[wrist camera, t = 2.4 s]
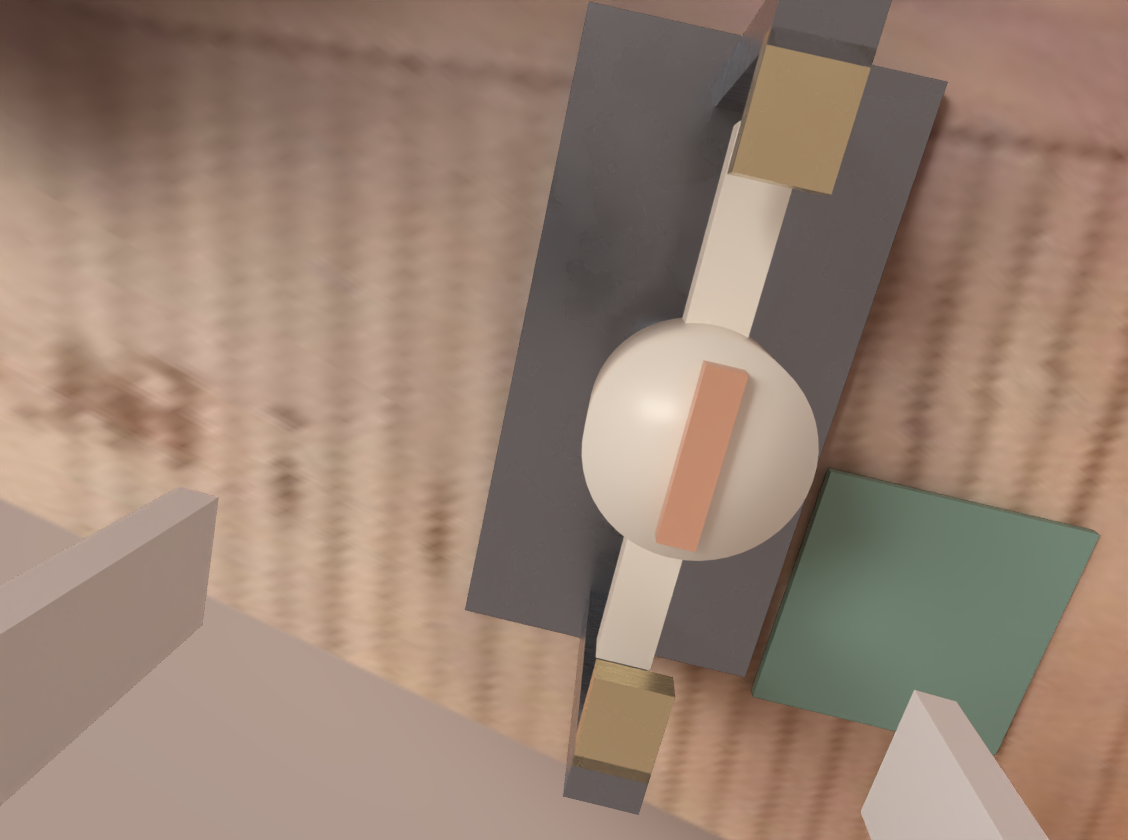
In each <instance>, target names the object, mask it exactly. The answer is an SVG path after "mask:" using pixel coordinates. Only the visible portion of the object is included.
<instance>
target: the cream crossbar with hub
mask: <svg viewBox="0 0 1128 840" xmlns="http://www.w3.org/2000/svg"><path fill="white" fill-rule="evenodd" d="M740 124H741V121H739V122H738V123H737V124H735V125H734V126H733V130H732V134H731V138H730V141H729V145H728V149H727V153H726V156H725V160H724V164H723V168H722V171H721V175H720V179H719V183H718V186H717V190H716V194H715V198H714V201H713V205H712V209H711V213H710V216H709V220H708V224H707V228H706V231H705V235H704V239H703V243H702V246H701V250H700V254H699V258H698V261H697V265H696V269H695V273H694V276H693V280H692V284H691V288H690V291H689V295H688V299H687V302H686V306H685V310H684V314H683V317H682V318H676V319H670V320H666V321H661V322H658V323H656V324H653V325H650V326H648V327H646V328H644V329H642V330H640V331H638V332H636V333H635V334H633V335H632V336H630V337H629V338H628V339H626V340H625V341H624V342H623V343H622V344H620V345H619V346H618V347H617V348H616V349H615V350H614V351H613V353H612V354H611V355H610V356H609V357H608V359H607V360H606V362H605V363H604V365H603V366H602V368H601V369H600V371H599V374H598V376H597V378H596V380H595V383H594V386H593V389H592V392H591V397H590V402H589V407H588V412H587V417H586V422H585V427H584V433H583V439H582V464H583V472H584V476H585V480H586V484H587V486H588V489H589V491H590V494H591V496H592V498H593V500H594V502H595V504H596V505H597V507H598V509H599V511H600V512H601V513H602V514H603V516H604V517H605V518H606V520H607V521H608V522H609V523H610V524H611V525H612V526H613V527H614V528H615V529H616V530H617V531H618V532H619V533H620V534H622V535H623V536H624V539H623V542H622V546H621V550H620V554H619V557H618V561H617V565H616V569H615V572H614V576H613V580H612V583H611V587H610V591H609V595H608V598H607V602H606V606H605V610H604V613H603V617H602V621H601V625H600V628H599V632H598V636H597V644H596V658H600V659H604V660H608V661H612V662H617V663H621V664H625V665H629V666H633V667H637V668H641V669H646V670H650V669H651V665H652V662H653V658H654V655H655V652H656V648H657V645H658V641H659V638H660V635H661V631H662V628H663V625H664V621H665V618H666V614H667V611H668V608H669V604H670V601H671V597H672V594H673V591H674V587H675V584H676V581H677V577H678V574H679V570H680V567H681V564H682V560H690V561H705V560H716V559H721V558H727V557H730V556H733V555H737V554H740V553H743V552H745V551H747V550H750V549H752V548H754V547H756V546H758V545H759V544H761V543H763V542H765V541H766V540H768V539H769V538H771V537H772V536H773V535H774V534H776V533H777V532H778V531H780V530H781V529H782V528H783V527H784V526H785V525H786V524H787V523H788V522H789V521H790V520H791V519H792V517H793V516H794V515H795V513H796V512H797V511H798V510H799V508H800V507H801V505H802V503H803V502H804V500H805V498H806V496H807V495H808V492H809V490H810V487H811V485H812V483H813V480H814V476H815V472H816V468H817V461H818V453H819V447H818V433H817V427H816V422H815V419H814V415H813V412H812V409H811V407H810V405H809V403H808V401H807V399H806V397H805V395H804V393H803V392H802V390H801V389H800V387H799V386H798V384H797V383H796V382H795V380H794V379H793V378H792V377H791V376H790V375H789V374H788V373H787V372H786V371H785V370H784V369H783V368H782V367H781V366H780V365H779V364H778V363H777V362H776V361H775V360H774V359H773V358H772V357H771V356H770V355H769V354H768V353H767V352H766V351H765V350H764V349H763V348H762V347H761V346H760V345H759V344H758V343H757V342H756V341H755V340H753V339H752V338H751V337H750V336H749V334H750V330H751V327H752V323H753V320H754V317H755V313H756V310H757V306H758V303H759V300H760V296H761V293H762V290H763V286H764V283H765V279H766V276H767V273H768V269H769V266H770V263H771V259H772V256H773V252H774V249H775V246H776V242H777V239H778V235H779V232H780V229H781V225H782V222H783V219H784V215H785V212H786V208H787V205H788V202H789V198H790V195H791V191H792V189H790V188H786V187H782V186H777V185H773V184H768V183H764V182H760V181H755V180H751V179H746V178H742V177H738V176H733V175H729V174H727V172H728V168H729V165H730V161H731V157H732V154H733V150H734V146H735V142H736V139H737V135H738V131H739V128H740Z"/></svg>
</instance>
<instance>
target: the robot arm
mask: <svg viewBox="0 0 1128 840" xmlns="http://www.w3.org/2000/svg"><path fill="white" fill-rule="evenodd" d="M218 498H219V497H216V496H212V495H208V494H205V493H201V492H197V491H194V490H190V489H187V488H183V487H178V488H176V489H174V490H172V491H170V492H169V493H167V494H165V495H163V496H161V497H160V498H158V499H156V500H154V501H152V502H150V503H149V504H147V505H145V506H143V507H141V508H140V509H138V510H136V511H134V512H132V513H131V514H129V515H127V516H125V517H123V518H121V519H120V520H118V521H116V522H114V523H112V524H111V525H109V526H107V527H105V528H103V529H101V530H100V531H98V532H96V533H94V534H92V535H91V536H89V537H87V538H85V539H83V540H81V541H80V542H78V543H76V544H74V545H72V546H71V547H69V548H67V549H65V550H63V551H62V552H60V553H58V554H56V555H54V556H53V557H51V558H49V559H47V560H46V561H43V562H42V563H40V564H38V565H36V566H34V567H32V568H31V569H29V570H27V571H25V572H23V573H22V574H20V575H18V576H16V577H14V578H12V579H11V580H9V581H7V582H5V583H3V584H2V585H0V806H1V805H2V804H3V803H4V802H5V801H6V800H8V799H9V798H10V797H11V796H12V795H13V794H14V793H15V792H16V791H18V790H19V789H20V788H21V787H22V786H23V785H24V784H25V783H27V782H28V781H29V780H30V779H31V778H32V777H33V776H34V775H35V774H37V773H38V772H39V771H40V770H41V769H42V768H43V767H44V766H46V765H47V764H48V763H49V762H50V761H51V760H52V759H53V758H54V757H56V756H57V755H58V754H59V753H60V752H61V751H62V750H63V749H65V748H66V747H67V746H68V745H69V744H70V743H71V742H72V741H73V740H75V739H76V738H77V737H78V736H79V735H80V734H81V733H82V732H83V731H85V730H86V729H87V728H88V727H89V726H90V725H91V724H92V723H94V721H96V720H97V719H98V718H99V717H100V716H101V715H103V714H104V713H105V712H106V711H107V710H108V709H109V708H110V707H111V706H113V705H114V704H115V703H116V702H117V701H118V700H119V699H120V698H121V697H123V696H124V695H125V694H126V693H127V692H128V691H129V690H130V689H132V688H133V687H134V686H135V685H136V684H137V683H138V682H139V681H141V680H142V679H143V678H144V677H145V676H146V675H147V674H148V673H149V672H151V671H152V670H153V669H154V668H155V667H156V666H157V665H158V664H159V663H161V662H162V661H163V660H164V659H165V658H166V657H167V656H168V655H170V654H171V653H172V652H173V651H174V650H175V649H176V648H177V647H179V646H180V645H181V644H182V643H183V642H184V641H185V640H186V639H187V638H189V637H190V636H191V635H192V634H193V633H194V632H195V631H196V630H197V629H199V628H200V627H201V626H202V624H203V616H204V609H205V601H206V593H207V585H208V577H209V569H210V561H211V554H212V546H213V538H214V530H215V522H216V514H217V506H218ZM861 814H862V817H863V820H864V822H865V825H866V827H867V830H868V833H869V835H870V838H871V840H1049V839H1048V837H1047V836H1046V834H1045V833H1044V831H1043V830H1042V828H1041V827H1040V825H1039V824H1038V823H1037V821H1036V820H1035V818H1034V817H1033V815H1032V814H1031V812H1030V811H1029V809H1028V808H1027V806H1026V805H1025V803H1024V802H1023V800H1022V799H1021V797H1020V796H1019V794H1018V793H1017V791H1016V790H1015V788H1014V787H1013V785H1012V784H1011V782H1010V781H1009V779H1008V778H1007V776H1006V775H1005V773H1004V772H1003V770H1002V769H1001V767H1000V766H999V764H998V763H997V761H996V760H995V758H994V757H993V755H992V754H991V752H990V751H989V749H988V748H987V746H986V745H985V743H984V742H983V741H982V739H981V738H980V736H979V735H978V733H977V732H976V730H975V729H974V727H973V726H972V724H971V723H970V721H969V720H968V718H967V717H966V715H965V714H964V712H963V711H962V709H961V708H960V706H959V705H958V703H957V702H956V701H953V700H949V699H945V698H942V697H938V696H935V695H931V694H927V693H924V692H920V691H917V690H914V691H913V694H912V696H911V698H910V701H909V703H908V705H907V707H906V710H905V712H904V714H903V716H902V719H901V721H900V723H899V725H898V728H897V730H896V732H895V735H894V737H893V739H892V741H891V744H890V746H889V748H888V750H887V753H886V755H885V757H884V760H883V762H882V764H881V766H880V769H879V771H878V773H877V775H876V778H875V780H874V782H873V785H872V787H871V789H870V791H869V794H868V796H867V798H866V800H865V803H864V805H863V807H862V810H861Z"/></svg>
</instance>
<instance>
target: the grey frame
mask: <svg viewBox="0 0 1128 840" xmlns="http://www.w3.org/2000/svg"><path fill="white" fill-rule="evenodd" d="M891 1H892V0H766V1H765V2H764V4H763V5H762V7H761V8H760V10H759V11H758V13H757V14H756V16H755V18H754V19H753V21H752V22H751V24H750V25H749V27H748V28H747V30H746V31H745V33H744V34H743V36H740V35H736V34H731V33H727V32H723V31H718V30H714V29H709V28H705V27H700V26H696V25H691V24H687V23H682V22H678V21H673V20H669V19H664V18H660V17H655V16H651V15H646V14H642V13H638V12H633V11H629V10H624V9H620V8H615V7H611V6H606V5H602V4H597V3H593V2H589V4H588V9H587V14H586V19H585V24H584V29H583V34H582V39H581V44H580V49H579V53H578V58H577V63H576V68H575V73H574V78H573V83H572V88H571V93H570V98H569V103H568V107H567V112H566V117H565V122H564V127H563V132H562V137H561V142H560V147H559V152H558V156H557V161H556V166H555V171H554V176H553V181H552V186H551V191H550V196H549V201H548V206H547V210H546V215H545V220H544V225H543V230H542V235H541V240H540V245H539V250H538V255H537V259H536V264H535V269H534V274H533V279H532V284H531V289H530V294H529V299H528V304H527V308H526V313H525V318H524V323H523V328H522V333H521V338H520V343H519V348H518V353H517V358H516V362H515V367H514V372H513V377H512V382H511V387H510V392H509V397H508V402H507V407H506V411H505V416H504V421H503V426H502V431H501V436H500V441H499V446H498V451H497V456H496V461H495V465H494V470H493V475H492V480H491V485H490V490H489V495H488V500H487V505H486V510H485V514H484V519H483V524H482V529H481V534H480V539H479V544H478V549H477V554H476V559H475V564H474V568H473V573H472V578H471V583H470V588H469V593H468V598H467V603H466V608H465V610H467V611H471V612H475V613H480V614H484V615H488V616H492V617H496V618H500V619H505V620H509V621H513V622H517V623H521V624H525V625H530V626H534V627H538V628H542V629H546V630H550V631H554V632H559V633H563V634H567V635H571V636H575V637H579V638H580V646H579V655H578V665H577V674H576V683H575V692H574V701H573V710H572V719H571V729H570V738H569V747H568V756H567V765H566V775H565V783H564V793H563V796H564V797H568V798H572V799H576V800H580V801H585V802H589V803H592V804H597V805H601V806H605V807H609V808H613V809H617V810H621V811H626V812H629V813H633V814H637V815H638V814H639V811H640V808H641V805H642V802H643V799H644V795H645V792H646V789H647V786H648V783H649V779H650V776H651V773H652V770H653V766H654V763H655V760H656V757H657V754H658V750H659V747H660V744H661V741H662V738H663V734H664V731H665V728H666V725H667V721H668V718H669V715H670V712H671V709H672V705H673V702H674V699H675V693H674V682H673V677H669V676H665V675H661V674H657V673H653V672H649V671H647V670H646V669H641V668H637V667H633V666H629V665H625V664H621V663H617V662H612V661H608V660H604V659H600V658H596V644H597V636H598V632H599V628H600V625H601V621H602V617H603V613H604V610H605V606H606V602H607V598H608V595H609V591H610V587H611V583H612V580H613V576H614V572H615V569H616V565H617V561H618V557H619V554H620V550H621V546H622V542H623V539H624V536H623V535H622V534H620V533H619V532H618V531H617V530H616V529H615V528H614V527H613V526H612V525H611V524H610V523H609V522H608V521H607V520H606V518H605V517H604V516H603V514H602V513H601V512H600V511H599V509H598V507H597V505H596V504H595V502H594V500H593V498H592V496H591V494H590V491H589V489H588V486H587V484H586V480H585V476H584V472H583V464H582V439H583V433H584V427H585V422H586V417H587V412H588V407H589V402H590V397H591V392H592V389H593V386H594V383H595V380H596V378H597V376H598V374H599V371H600V369H601V368H602V366H603V365H604V363H605V362H606V360H607V359H608V357H609V356H610V355H611V354H612V353H613V351H614V350H615V349H616V348H617V347H618V346H619V345H620V344H622V343H623V342H624V341H625V340H626V339H628V338H629V337H630V336H632V335H633V334H635V333H636V332H638V331H640V330H642V329H644V328H646V327H648V326H650V325H653V324H656V323H658V322H661V321H666V320H670V319H676V318H682V317H683V314H684V310H685V306H686V302H687V299H688V295H689V291H690V288H691V284H692V280H693V276H694V273H695V269H696V265H697V261H698V258H699V254H700V250H701V246H702V243H703V239H704V235H705V231H706V228H707V224H708V220H709V216H710V213H711V209H712V205H713V201H714V198H715V194H716V190H717V186H718V183H719V179H720V175H721V171H722V168H723V164H724V160H725V156H726V153H727V149H728V145H729V141H730V138H731V134H732V130H733V126H734V125H735V124H737V123H738V122H739V121H741V124H740V128H739V131H738V135H737V139H736V142H735V146H734V150H733V154H732V157H731V161H730V165H729V168H728V172H727V174H729V175H733V176H738V177H742V178H746V179H751V180H755V181H760V182H764V183H768V184H773V185H777V186H782V187H786V188H790V189H792V191H791V195H790V198H789V202H788V205H787V208H786V212H785V215H784V219H783V222H782V225H781V229H780V232H779V235H778V239H777V242H776V246H775V249H774V252H773V256H772V259H771V263H770V266H769V269H768V273H767V276H766V279H765V283H764V286H763V290H762V293H761V296H760V300H759V303H758V306H757V310H756V313H755V317H754V320H753V323H752V327H751V330H750V334H749V336H750V337H751V338H752V339H753V340H755V341H756V342H757V343H758V344H759V345H760V346H761V347H762V348H763V349H764V350H765V351H766V352H767V353H768V354H769V355H770V356H771V357H772V358H773V359H774V360H775V361H776V362H777V363H778V364H779V365H780V366H781V367H782V368H783V369H784V370H785V371H786V372H787V373H788V374H789V375H790V376H791V377H792V378H793V379H794V380H795V382H796V383H797V384H798V386H799V387H800V389H801V390H802V392H803V393H804V395H805V397H806V399H807V401H808V403H809V405H810V407H811V409H812V412H813V415H814V419H815V422H816V427H817V433H818V447H819V453H818V461H819V458H820V455H821V452H822V449H823V446H824V444H825V441H826V438H827V435H828V432H829V429H830V426H831V423H832V420H833V417H834V414H835V411H836V408H837V405H838V402H839V399H840V397H841V394H842V391H843V388H844V385H845V382H846V379H847V376H848V373H849V370H850V367H851V364H852V361H853V358H854V355H855V353H856V350H857V347H858V344H859V341H860V338H861V335H862V332H863V329H864V326H865V323H866V320H867V317H868V314H869V311H870V309H871V306H872V303H873V300H874V297H875V294H876V291H877V288H878V285H879V282H880V279H881V276H882V273H883V270H884V267H885V264H886V262H887V259H888V256H889V253H890V250H891V247H892V244H893V241H894V238H895V235H896V232H897V229H898V226H899V223H900V220H901V218H902V215H903V212H904V209H905V206H906V203H907V200H908V197H909V194H910V191H911V188H912V185H913V182H914V179H915V176H916V173H917V171H918V168H919V165H920V162H921V159H922V156H923V153H924V150H925V147H926V144H927V141H928V138H929V135H930V132H931V129H932V127H933V124H934V121H935V118H936V115H937V112H938V109H939V106H940V103H941V100H942V97H943V94H944V91H945V88H946V85H947V83H948V82H946V81H942V80H937V79H933V78H928V77H924V76H919V75H915V74H910V73H906V72H901V71H897V70H892V69H888V68H884V67H879V66H875V65H872V62H873V59H874V56H875V53H876V50H877V46H878V43H879V40H880V37H881V33H882V30H883V27H884V24H885V21H886V17H887V14H888V11H889V8H890V5H891ZM818 461H817V464H818ZM805 499H806V498H805ZM804 502H805V500H804ZM804 502H803V503H802V505H801V507H800V508H799V510H798V511H797V512H796V513H795V515H794V516H793V517H792V519H791V520H790V521H789V522H788V523H787V524H786V525H785V526H784V527H783V528H782V529H781V530H780V531H778V532H777V533H776V534H774V535H773V536H772V537H771V538H769V539H768V540H766V541H765V542H763V543H761V544H759V545H758V546H756V547H754V548H752V549H750V550H747V551H745V552H743V553H740V554H737V555H733V556H730V557H727V558H721V559H716V560H705V561H690V560H682V564H681V567H680V570H679V574H678V577H677V581H676V584H675V587H674V591H673V594H672V597H671V601H670V604H669V608H668V611H667V614H666V618H665V621H664V625H663V628H662V631H661V635H660V638H659V641H658V645H657V648H656V652H655V655H654V656H658V657H663V658H667V659H671V660H675V661H679V662H683V663H687V664H692V665H696V666H700V667H704V668H708V669H712V670H717V671H721V672H725V673H729V674H733V675H737V676H742V677H745V675H746V672H747V670H748V667H749V664H750V661H751V658H752V655H753V652H754V649H755V646H756V643H757V640H758V637H759V634H760V631H761V628H762V625H763V623H764V620H765V617H766V614H767V611H768V608H769V605H770V602H771V599H772V596H773V593H774V590H775V587H776V584H777V581H778V579H779V576H780V573H781V570H782V567H783V564H784V561H785V558H786V555H787V552H788V549H789V546H790V543H791V540H792V537H793V534H794V532H795V529H796V526H797V523H798V520H799V517H800V514H801V511H802V508H803V505H804Z"/></svg>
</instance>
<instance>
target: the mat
mask: <svg viewBox="0 0 1128 840" xmlns="http://www.w3.org/2000/svg"><path fill="white" fill-rule="evenodd" d="M1099 536H1100V535H1099V534H1098V533H1097V532H1095V531H1094V530H1091V529H1086V528H1082V527H1078V526H1074V525H1069V524H1065V523H1061V522H1057V521H1052V520H1048V519H1044V518H1040V517H1035V516H1031V515H1027V514H1023V513H1018V512H1014V511H1010V510H1005V509H1001V508H997V507H993V506H988V505H984V504H980V503H976V502H971V501H967V500H963V499H959V498H954V497H950V496H946V495H941V494H937V493H933V492H929V491H924V490H920V489H916V488H912V487H907V486H903V485H899V484H895V483H890V482H886V481H882V480H878V479H873V478H869V477H865V476H860V475H856V474H852V473H848V472H843V471H839V470H835V469H831V468H828V470H827V473H826V475H825V478H824V481H823V484H822V487H821V490H820V493H819V496H818V499H817V502H816V504H815V507H814V510H813V513H812V516H811V519H810V522H809V525H808V528H807V530H806V533H805V536H804V539H803V542H802V545H801V548H800V551H799V554H798V556H797V559H796V562H795V565H794V568H793V571H792V574H791V577H790V580H789V582H788V585H787V588H786V591H785V594H784V597H783V600H782V603H781V606H780V609H779V611H778V614H777V617H776V620H775V623H774V626H773V629H772V632H771V635H770V637H769V640H768V643H767V646H766V649H765V652H764V655H763V658H762V661H761V663H760V666H759V669H758V672H757V675H756V678H755V681H754V684H753V687H752V689H751V692H752V695H753V697H755V698H759V699H763V700H767V701H771V702H776V703H780V704H784V705H788V706H792V707H796V708H801V709H805V710H809V711H813V712H817V713H821V714H825V715H830V716H834V717H838V718H842V719H846V720H850V721H854V722H859V723H863V724H867V725H871V726H875V727H879V728H883V729H888V730H892V731H896V730H897V728H898V725H899V723H900V721H901V719H902V716H903V714H904V712H905V710H906V707H907V705H908V703H909V701H910V698H911V696H912V694H913V691H914V690H917V691H920V692H924V693H927V694H931V695H935V696H938V697H942V698H945V699H949V700H953V701H956V702H957V703H958V705H959V706H960V708H961V709H962V711H963V712H964V714H965V715H966V717H967V718H968V720H969V721H970V723H971V724H972V726H973V727H974V729H975V730H976V732H977V733H978V735H979V736H980V738H981V739H982V741H983V742H984V743H985V745H986V746H987V748H988V749H989V751H990V752H991V754H992V755H996V753H997V751H998V749H999V747H1000V745H1001V743H1002V740H1003V738H1004V736H1005V734H1006V732H1007V730H1008V728H1009V726H1010V724H1011V721H1012V719H1013V717H1014V715H1015V713H1016V711H1017V709H1018V707H1019V705H1020V702H1021V700H1022V698H1023V696H1024V694H1025V692H1026V690H1027V688H1028V686H1029V684H1030V681H1031V679H1032V677H1033V675H1034V673H1035V671H1036V669H1037V667H1038V665H1039V662H1040V660H1041V658H1042V656H1043V654H1044V652H1045V650H1046V648H1047V646H1048V644H1049V641H1050V639H1051V637H1052V635H1053V633H1054V631H1055V629H1056V627H1057V625H1058V622H1059V620H1060V618H1061V616H1062V614H1063V612H1064V610H1065V608H1066V606H1067V603H1068V601H1069V599H1070V597H1071V595H1072V593H1073V591H1074V589H1075V587H1076V585H1077V582H1078V580H1079V578H1080V576H1081V574H1082V572H1083V570H1084V568H1085V566H1086V563H1087V561H1088V559H1089V557H1090V555H1091V553H1092V551H1093V549H1094V547H1095V545H1096V542H1097V540H1098V538H1099Z"/></svg>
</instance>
